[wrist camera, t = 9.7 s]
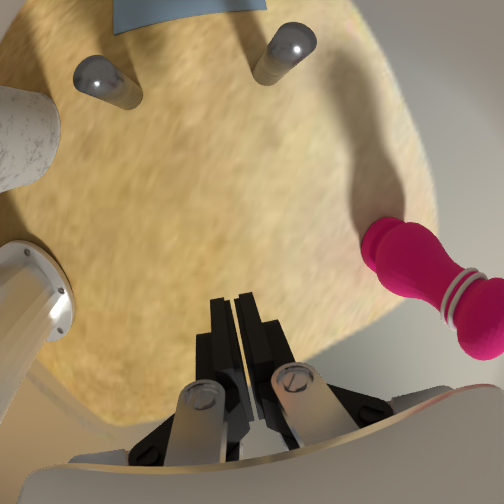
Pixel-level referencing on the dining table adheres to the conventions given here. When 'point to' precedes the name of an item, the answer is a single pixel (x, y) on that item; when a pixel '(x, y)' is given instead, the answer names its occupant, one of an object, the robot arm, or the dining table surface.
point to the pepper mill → (438, 283)
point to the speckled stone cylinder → (26, 136)
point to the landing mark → (172, 10)
